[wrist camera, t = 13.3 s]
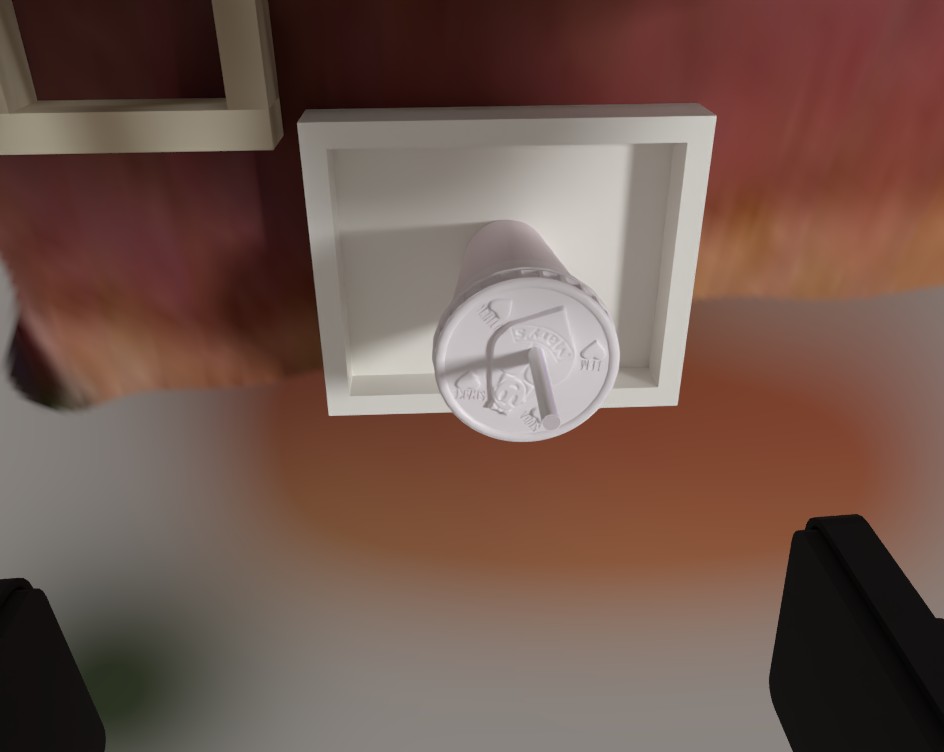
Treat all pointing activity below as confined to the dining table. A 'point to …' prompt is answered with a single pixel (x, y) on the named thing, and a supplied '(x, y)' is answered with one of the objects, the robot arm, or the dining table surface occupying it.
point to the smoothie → (522, 340)
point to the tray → (489, 200)
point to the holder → (151, 100)
